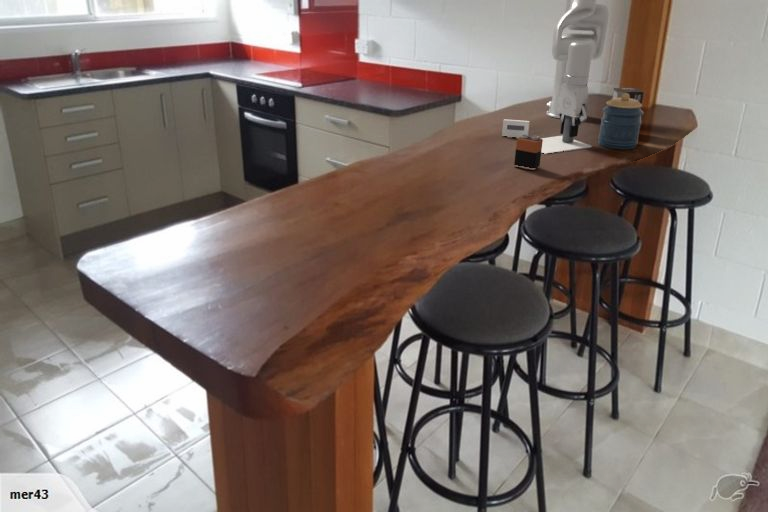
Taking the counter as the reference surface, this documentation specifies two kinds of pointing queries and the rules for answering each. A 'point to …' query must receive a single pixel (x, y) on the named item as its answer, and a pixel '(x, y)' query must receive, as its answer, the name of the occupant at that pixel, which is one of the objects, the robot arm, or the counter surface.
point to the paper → (560, 145)
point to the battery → (528, 151)
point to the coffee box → (633, 93)
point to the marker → (567, 129)
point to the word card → (515, 128)
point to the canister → (620, 123)
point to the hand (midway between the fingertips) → (568, 134)
